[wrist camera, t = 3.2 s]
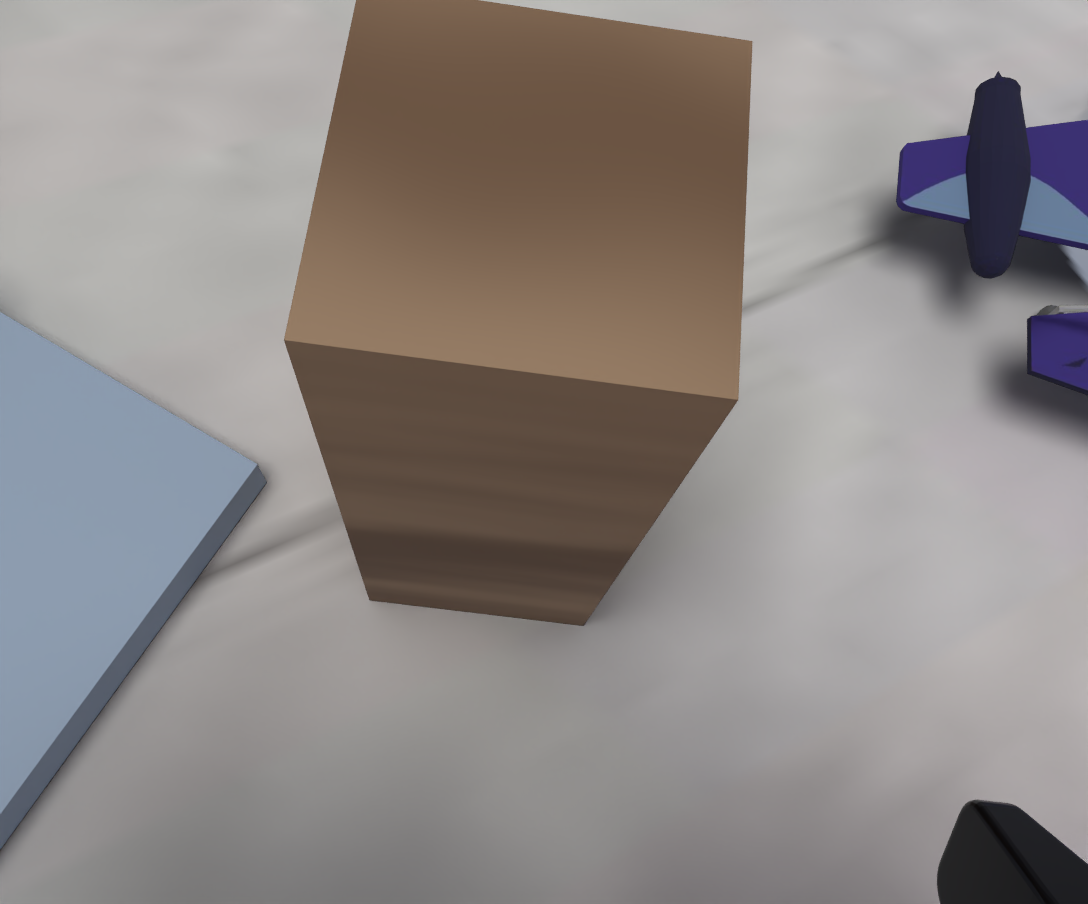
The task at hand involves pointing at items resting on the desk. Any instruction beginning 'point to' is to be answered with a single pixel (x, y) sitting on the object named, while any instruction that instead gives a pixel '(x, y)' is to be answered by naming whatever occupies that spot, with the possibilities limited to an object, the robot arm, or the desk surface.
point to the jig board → (90, 545)
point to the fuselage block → (520, 294)
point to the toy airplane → (1011, 207)
